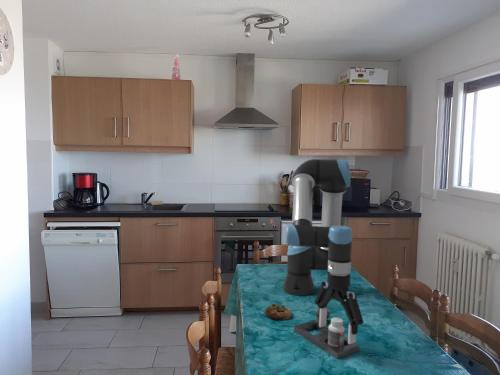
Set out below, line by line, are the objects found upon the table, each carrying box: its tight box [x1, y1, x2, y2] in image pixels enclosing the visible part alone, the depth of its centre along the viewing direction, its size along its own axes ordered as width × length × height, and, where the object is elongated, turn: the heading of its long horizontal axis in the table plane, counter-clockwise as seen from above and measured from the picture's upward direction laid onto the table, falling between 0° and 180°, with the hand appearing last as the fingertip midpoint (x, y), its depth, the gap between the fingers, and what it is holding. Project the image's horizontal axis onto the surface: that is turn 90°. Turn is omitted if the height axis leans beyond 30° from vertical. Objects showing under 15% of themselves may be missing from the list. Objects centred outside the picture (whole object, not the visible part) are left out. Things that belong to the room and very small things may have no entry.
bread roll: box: [264, 303, 292, 321], centre depth 153 cm, size 11×11×5 cm
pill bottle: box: [328, 316, 346, 349], centre depth 127 cm, size 5×5×10 cm
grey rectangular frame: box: [293, 319, 360, 360], centre depth 132 cm, size 22×10×2 cm, turn 32°
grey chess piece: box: [314, 295, 331, 325], centre depth 147 cm, size 6×6×12 cm
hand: (336, 334), depth 127 cm, fingers open, 13 cm apart
